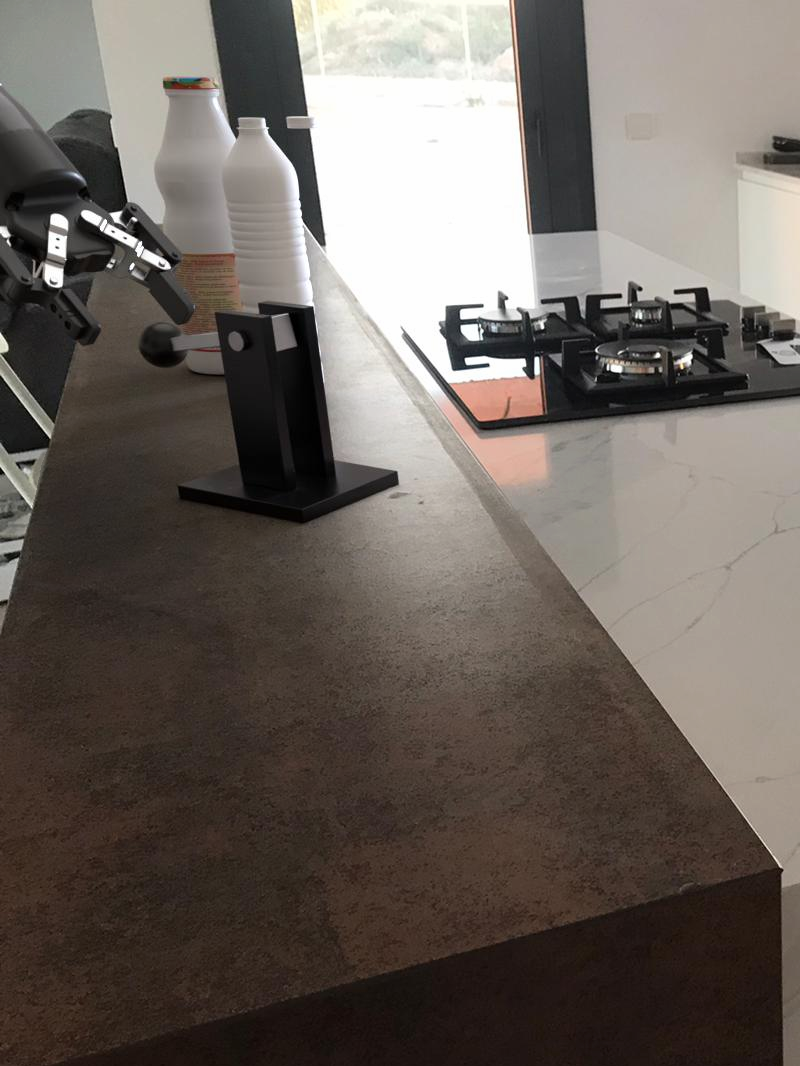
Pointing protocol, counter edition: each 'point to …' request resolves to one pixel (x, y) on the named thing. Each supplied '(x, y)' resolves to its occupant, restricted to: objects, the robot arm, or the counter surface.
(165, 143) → the fruit juice
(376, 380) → the counter surface
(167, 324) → the lever with ball knob
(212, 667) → the counter surface
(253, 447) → the tap bracket
